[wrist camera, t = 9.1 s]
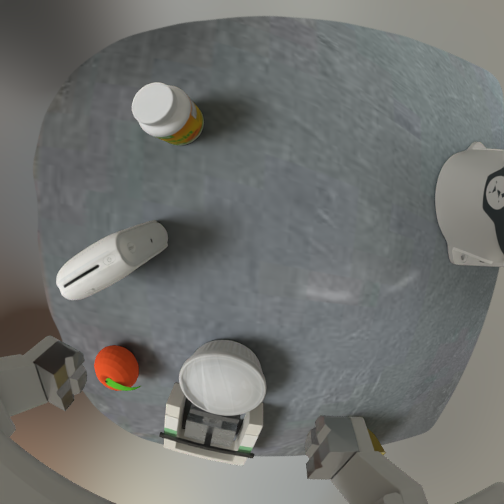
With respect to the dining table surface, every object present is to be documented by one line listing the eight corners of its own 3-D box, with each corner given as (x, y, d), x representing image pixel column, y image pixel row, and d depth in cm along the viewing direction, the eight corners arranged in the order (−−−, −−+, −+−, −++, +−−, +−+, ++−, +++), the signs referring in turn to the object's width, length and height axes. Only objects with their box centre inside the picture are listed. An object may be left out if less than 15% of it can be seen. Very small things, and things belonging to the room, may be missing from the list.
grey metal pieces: (267, 402, 37) (267, 430, 32) (251, 438, 40) (249, 463, 34) (171, 380, 37) (160, 405, 31) (168, 419, 40) (159, 443, 34)
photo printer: (160, 213, 32) (106, 230, 20) (175, 245, 32) (130, 278, 20) (100, 248, 33) (41, 275, 21) (114, 276, 34) (60, 313, 22)
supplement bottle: (166, 152, 30) (129, 140, 20) (157, 112, 29) (120, 89, 19) (209, 137, 29) (186, 118, 20) (199, 98, 28) (174, 66, 19)
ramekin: (172, 350, 36) (161, 372, 31) (237, 318, 34) (233, 339, 29) (217, 400, 38) (212, 424, 33) (280, 375, 36) (281, 399, 31)
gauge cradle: (263, 403, 38) (262, 426, 33) (244, 445, 41) (243, 466, 36) (175, 382, 37) (165, 404, 32) (170, 428, 41) (163, 448, 35)
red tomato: (155, 352, 36) (137, 381, 29) (148, 382, 38) (132, 410, 31) (109, 329, 36) (85, 353, 29) (105, 361, 37) (85, 385, 31)
